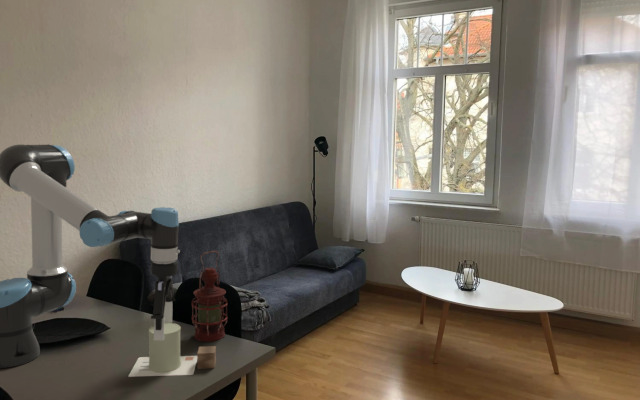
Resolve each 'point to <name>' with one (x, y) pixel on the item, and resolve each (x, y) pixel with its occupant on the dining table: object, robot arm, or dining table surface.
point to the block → (206, 357)
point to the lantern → (209, 306)
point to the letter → (143, 370)
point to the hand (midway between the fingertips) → (163, 330)
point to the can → (165, 349)
